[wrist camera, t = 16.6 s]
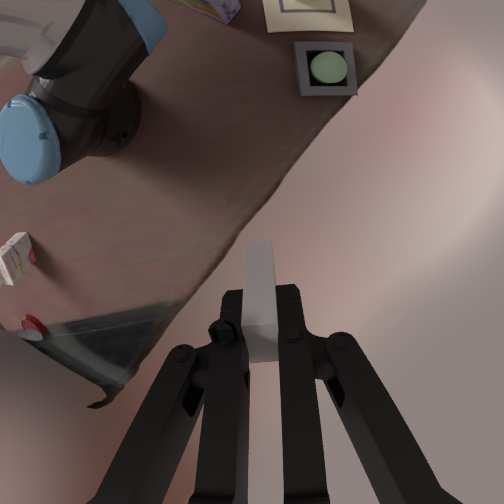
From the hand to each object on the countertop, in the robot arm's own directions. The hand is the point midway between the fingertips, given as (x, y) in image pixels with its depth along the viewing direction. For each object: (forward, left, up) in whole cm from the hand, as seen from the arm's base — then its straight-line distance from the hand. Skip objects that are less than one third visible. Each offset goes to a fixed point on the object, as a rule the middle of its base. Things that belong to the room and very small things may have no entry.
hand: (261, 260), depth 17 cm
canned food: (-83, -41, -33) cm, 98 cm away
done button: (+12, +13, -32) cm, 36 cm away
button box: (+12, +13, -32) cm, 37 cm away
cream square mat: (+11, +28, -32) cm, 44 cm away
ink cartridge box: (-62, -11, -33) cm, 71 cm away
